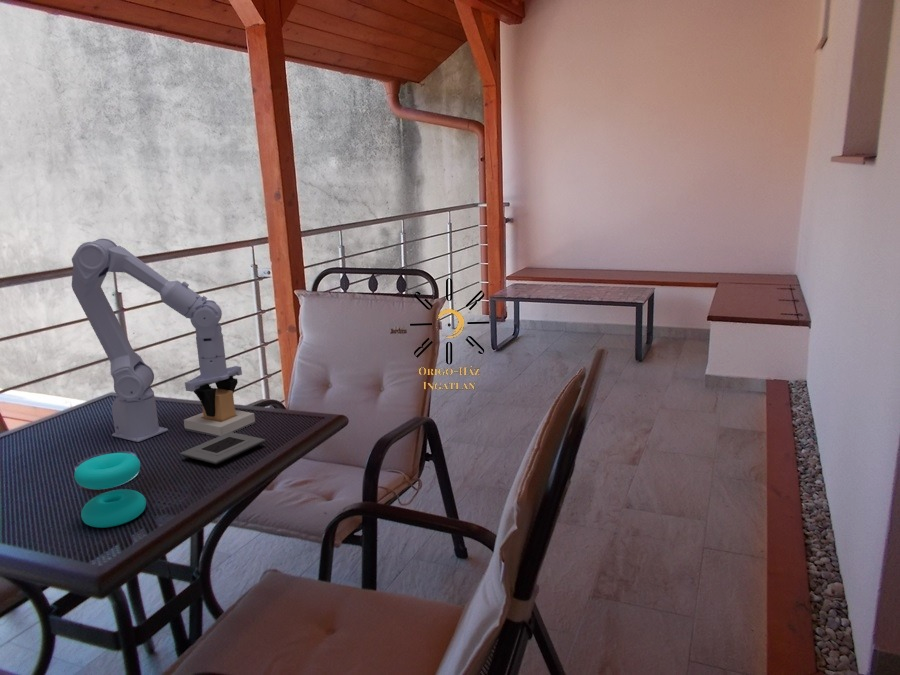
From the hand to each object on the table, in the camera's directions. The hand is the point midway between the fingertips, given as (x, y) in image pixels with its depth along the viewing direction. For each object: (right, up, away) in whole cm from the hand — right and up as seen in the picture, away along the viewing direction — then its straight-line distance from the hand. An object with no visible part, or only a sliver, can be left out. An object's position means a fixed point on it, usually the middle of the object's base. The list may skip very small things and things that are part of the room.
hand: (218, 412), depth 158 cm
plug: (0, -2, 0) cm, 2 cm away
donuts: (-4, -13, -41) cm, 43 cm away
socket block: (0, -3, +1) cm, 3 cm away
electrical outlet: (+6, -7, -15) cm, 18 cm away
